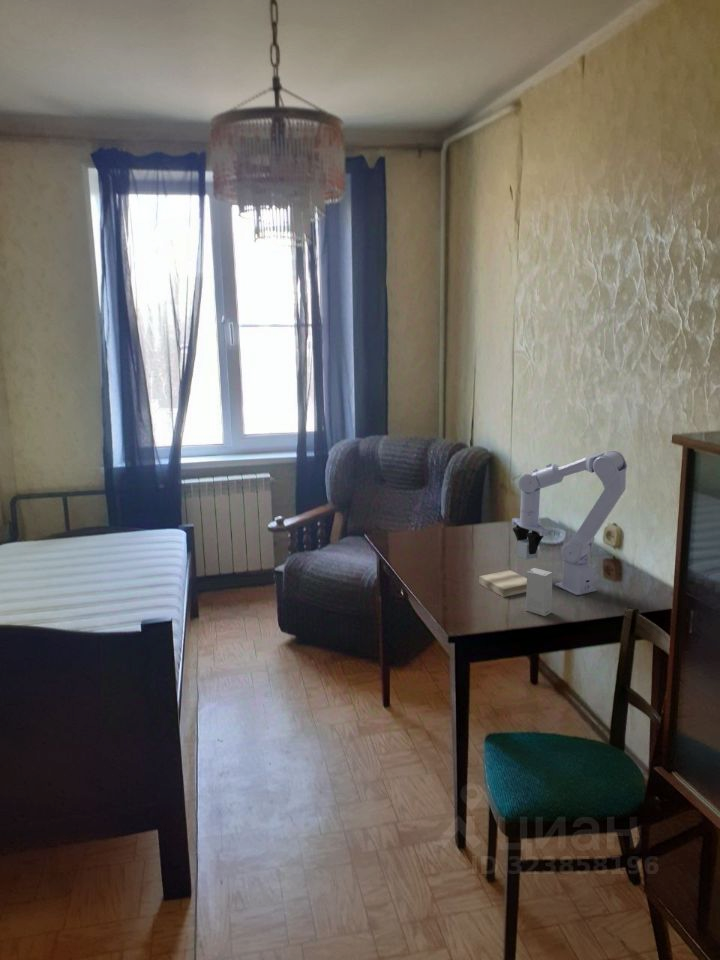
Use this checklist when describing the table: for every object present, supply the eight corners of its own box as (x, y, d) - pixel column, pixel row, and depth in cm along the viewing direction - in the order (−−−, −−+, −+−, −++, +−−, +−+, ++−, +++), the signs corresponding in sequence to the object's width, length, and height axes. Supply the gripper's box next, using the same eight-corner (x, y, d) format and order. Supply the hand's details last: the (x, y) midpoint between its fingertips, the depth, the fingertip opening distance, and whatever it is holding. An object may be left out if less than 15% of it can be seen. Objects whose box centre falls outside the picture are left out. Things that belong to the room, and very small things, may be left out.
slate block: (537, 557, 221) (538, 542, 220) (526, 559, 219) (526, 544, 218) (528, 553, 225) (528, 538, 224) (516, 555, 223) (517, 540, 222)
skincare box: (551, 612, 196) (554, 571, 193) (543, 617, 193) (546, 576, 190) (532, 606, 200) (534, 566, 198) (524, 611, 197) (526, 570, 194)
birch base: (534, 590, 212) (535, 582, 212) (503, 597, 207) (503, 589, 206) (509, 577, 223) (509, 570, 222) (478, 583, 217) (479, 576, 217)
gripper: (555, 514, 214) (552, 556, 217) (524, 503, 227) (522, 543, 230) (537, 517, 211) (534, 559, 214) (507, 506, 224) (505, 546, 227)
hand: (527, 551), depth 222 cm, fingers closed on slate block, 4 cm apart
